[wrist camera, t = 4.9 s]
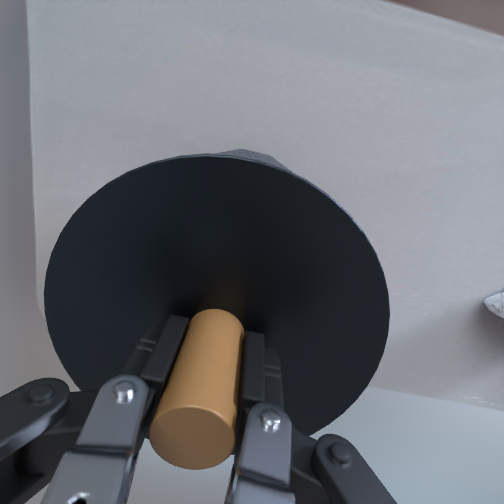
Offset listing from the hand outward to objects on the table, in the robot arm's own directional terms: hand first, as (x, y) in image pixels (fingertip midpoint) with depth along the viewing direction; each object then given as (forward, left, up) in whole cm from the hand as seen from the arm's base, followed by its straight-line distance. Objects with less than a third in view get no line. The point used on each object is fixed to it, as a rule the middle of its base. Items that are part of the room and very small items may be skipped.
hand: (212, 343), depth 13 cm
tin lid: (0, 0, -1) cm, 1 cm away
